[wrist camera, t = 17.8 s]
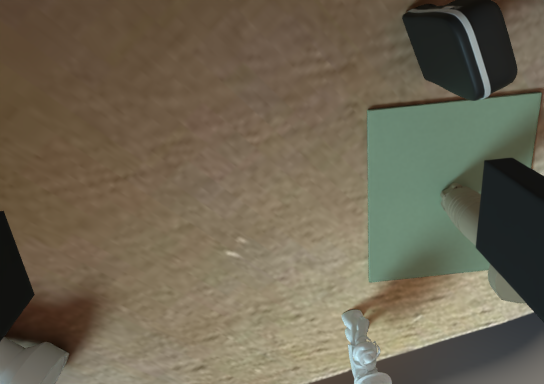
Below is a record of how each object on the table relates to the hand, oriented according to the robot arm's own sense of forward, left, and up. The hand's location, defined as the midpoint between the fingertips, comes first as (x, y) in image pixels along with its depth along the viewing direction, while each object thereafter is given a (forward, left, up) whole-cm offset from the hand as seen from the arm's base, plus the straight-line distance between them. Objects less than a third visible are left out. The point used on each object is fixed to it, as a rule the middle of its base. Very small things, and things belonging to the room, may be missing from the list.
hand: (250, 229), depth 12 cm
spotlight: (+29, -30, -32) cm, 53 cm away
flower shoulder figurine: (+31, +9, -32) cm, 45 cm away
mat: (+15, +19, -32) cm, 40 cm away
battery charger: (-1, +17, -32) cm, 36 cm away
